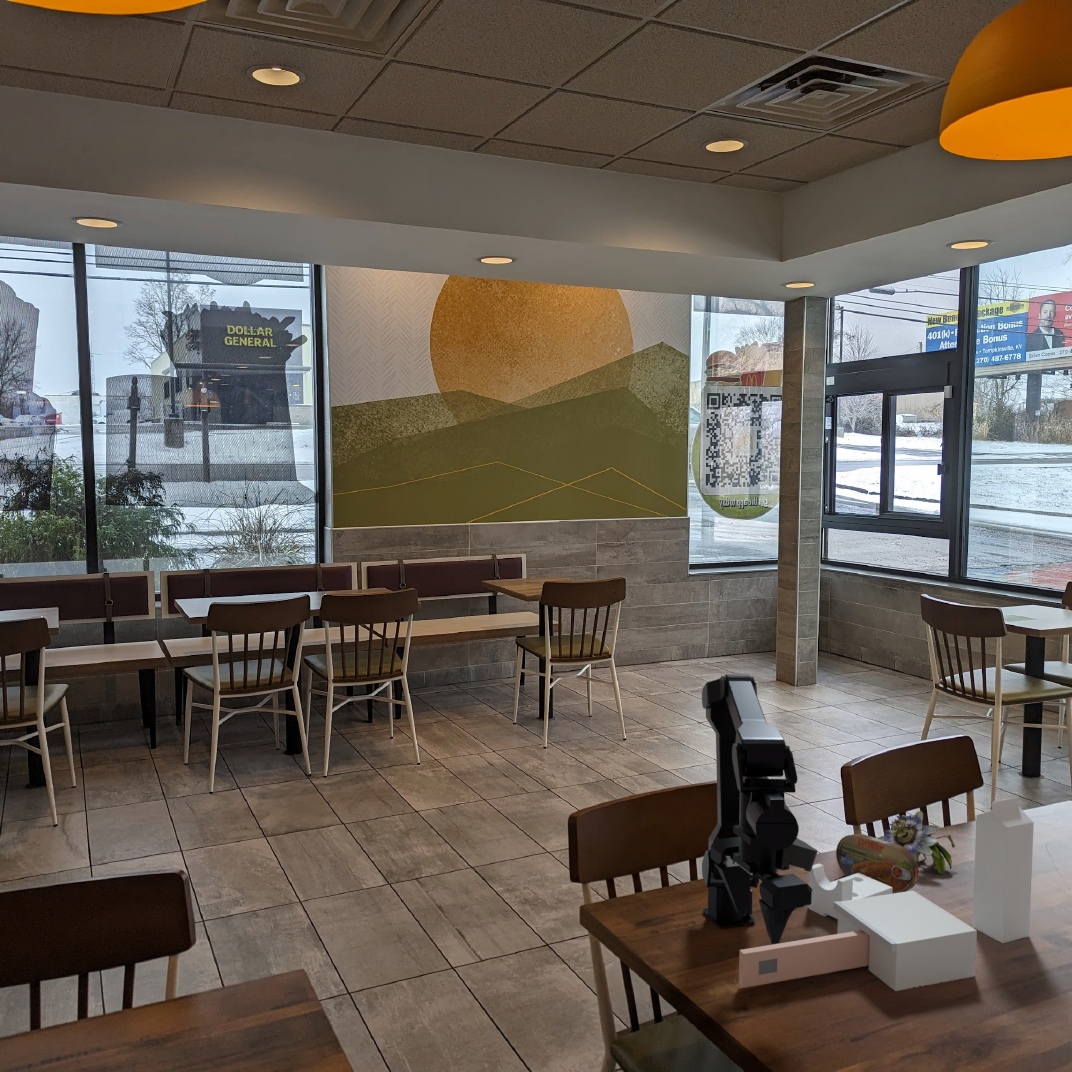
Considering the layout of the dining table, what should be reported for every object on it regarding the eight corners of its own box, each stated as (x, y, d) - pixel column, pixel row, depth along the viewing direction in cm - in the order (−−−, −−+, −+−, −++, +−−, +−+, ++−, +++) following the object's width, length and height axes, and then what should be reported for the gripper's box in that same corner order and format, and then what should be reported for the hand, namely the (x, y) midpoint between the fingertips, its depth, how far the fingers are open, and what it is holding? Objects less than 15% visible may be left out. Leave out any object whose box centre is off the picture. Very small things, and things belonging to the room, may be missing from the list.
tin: (834, 873, 177) (835, 829, 177) (843, 869, 179) (845, 825, 179) (911, 902, 166) (912, 854, 165) (920, 896, 168) (921, 850, 167)
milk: (1029, 937, 154) (1036, 803, 152) (1002, 944, 151) (1008, 808, 150) (997, 920, 159) (1003, 791, 158) (970, 927, 157) (976, 795, 155)
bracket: (841, 926, 157) (842, 881, 157) (807, 909, 163) (808, 866, 163) (891, 907, 164) (893, 864, 164) (858, 892, 170) (859, 850, 170)
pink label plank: (743, 987, 137) (743, 954, 137) (738, 983, 138) (739, 949, 138) (873, 964, 144) (874, 932, 143) (868, 960, 145) (869, 928, 144)
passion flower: (899, 895, 181) (862, 837, 184) (928, 869, 188) (892, 814, 191) (945, 880, 173) (905, 819, 176) (973, 854, 179) (934, 796, 183)
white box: (890, 992, 137) (892, 944, 137) (832, 945, 150) (833, 901, 150) (975, 976, 141) (976, 929, 141) (911, 932, 155) (913, 889, 154)
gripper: (847, 840, 130) (844, 951, 131) (774, 796, 148) (772, 894, 149) (775, 849, 127) (773, 963, 128) (709, 803, 145) (708, 903, 146)
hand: (757, 928), depth 138 cm, fingers open, 9 cm apart
